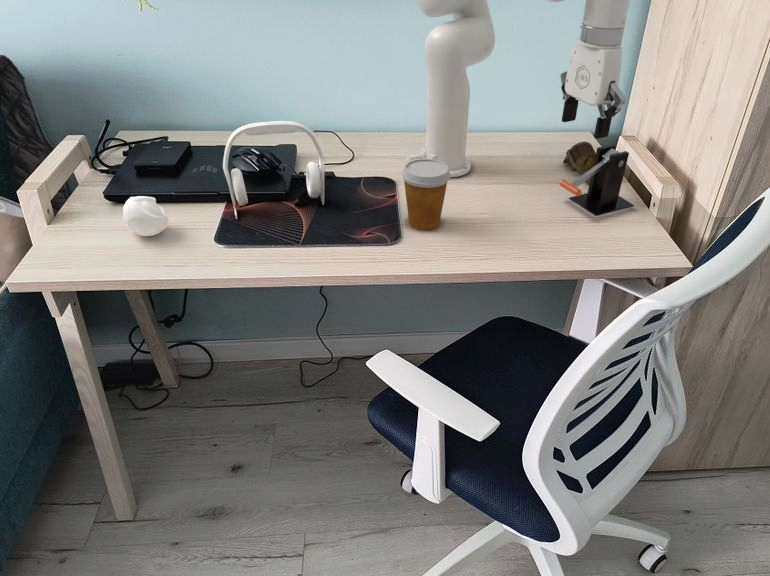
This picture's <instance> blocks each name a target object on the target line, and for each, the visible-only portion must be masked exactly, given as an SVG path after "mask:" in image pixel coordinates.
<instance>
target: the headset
mask: <svg viewBox="0 0 770 576" xmlns="http://www.w3.org/2000/svg"><path fill="white" fill-rule="evenodd" d="M298 129H299V130H301V131H302V132H304V133H306V134H307V135H308V136H309V138H310V139H311V140H312V142H313V144H314V146H315V149H316V151H317V154H318V164H317V163H316V162H315V161H310V162H308V163H307V165H306V169H305V182H306V183H305V184H306V190H307V193H308V196H309V198H311V199H317V198H319V197H320V200H321V203H322V205H325V157H324V154H323V151H322V147H321V145H320V143H319V141H318V139H317V137H316V135H315V134H314V133H313V131H312V130H311V128H309V127H307V126H306V125H304V123H303V124H302V123H300V122H296V121H291V120H289V121H288V120H274V121H260V122H253V123H248V124H245V125H242V126H240V127H238V128H236V129H235V130H234V131H233V132H232V133H231V134H230V136H229V138H228V140H227V142H226V144H225V147H224V152H223V153H224V154H223V159H222V170H223V173H224V176H225V178H226V183H227V186H228V190H229V193H230V197H231V201H232V205H233V210H234V216H235V219H236V220H238V213H237V212H238V211H237V207H236V206H237V204H238V205H239V206H243V207H244V206H247V204H248V203H249V199H248V195H247V194H248V193H247V189H246V185H245V181H244V177H243V172H242V170H241V169H239V168H232V169H231V171H230V172H229V168H228V167H229V159H230V158H229V157H230V153H231V150H232V149H231V148H232V146H233V144H234V142H235V141H236V139H237V138H238V137H239V136H240V135H242V134H243V133H244V134H246V135H248V136H262V135H263V136H264V135H274V134H293V133H295V132H297V130H298ZM236 201H237V203H236Z"/></svg>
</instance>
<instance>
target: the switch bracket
mask: <svg viewBox="0 0 770 576" xmlns="http://www.w3.org/2000/svg"><path fill="white" fill-rule="evenodd" d="M612 148H613V149H615V150H616V148H617V146H616V144H613V143H611V144H607V145H602V146H598V147H596V151H595V152H596V156H595V161H594V165H593V167H594V166H596V165H597V164H598V163H600V162H601V161H603V159H602V155H604V154H605V153H606V152H608V151H609V150H610V149H612ZM629 155H630V152H628V151H627V150H624V151H621V152H620V151H619V153H615V154H611V155H610V158H609V162H608V167H607V166H606V167H604V168H603V169H602V170H600V171H599V172H597V173H596V174H595V175H593V176H592V177H591V179H590V184H589V185H588V189H587V192H586V193H581V195H580V196H576V195H574V196H570V197H568V200H570V201H572V202H573V203H574V204H576V205H578V206H579V207H581V208H583V209H584V210H585V211H587V212H588V213H590V214H592V215H593V216H595V217H599V216H602V215H605V214H609V213H612V212H617V211H621V210H624V209H628V208H631V207H634V206H635V205H634V204H633V203H632V202H630V201H629V200H626V199H625V198H623V197H622V196H620V192H621V188H622V183H623V179H624V176H625V172H626V168H627V164H628V160H629V157H630V156H629Z"/></svg>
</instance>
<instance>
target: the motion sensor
mask: <svg viewBox="0 0 770 576" xmlns="http://www.w3.org/2000/svg"><path fill="white" fill-rule="evenodd" d="M122 218H123V221H124V223H125V225H126V226H127V227H128V229H129V230H130V231H131V232H133V233H134V234H136V235H138V236H142V237H152V236H156V235H158V234H160V233H162V232H163V231H164V230H165V229H166V228H167V227H168V222H169V216H168V215H167V213H166V211H165V209H164V208H163V207H162V206H161V205H159V204H158V202H157V199H156V198H155V197H153V196H147V195H146V196H145V195H143V196H142V195H137V196H130V197H129V198H128V199H127V200H126V201H125V203H124V205H123V207H122Z"/></svg>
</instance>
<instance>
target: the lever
mask: <svg viewBox="0 0 770 576" xmlns="http://www.w3.org/2000/svg"><path fill="white" fill-rule="evenodd" d="M615 153H620V151H618V150H617V149H616V148H615V149H613V148H612V149H610V150H609V151H608V152H606V153H605V154H604V155H602V159H603V161H601V162H600V163H598V164H597V165H596V166H594V167H593V168H591V169H590V170H586V171H585V173H584V174H583V175H580V176H578V177H577V178H576V179H574V180H573V181H572V182H569V181H567V180H565V179H563V178H562V179H561V180H560V181H559V183H558V184H559V186H560V187H561V188H563V189H565V190H566V191H567V192H569V193H570V194H572V195H574V196H580V195H582V190H581V189H580V188H578V187H580V186H581V185H582V184H584V183H586V182H585V181H586V180H588V179H589V178H591V177H592V176H593V175H595V174H596V173H597V172H599V171H600V170H602V169H603V168H604V167H606V166H607V167H608V162H609V158H610V155H611V154H615Z"/></svg>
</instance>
